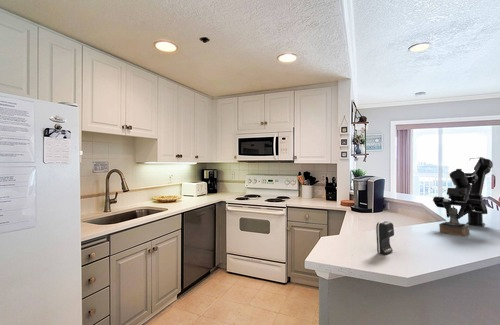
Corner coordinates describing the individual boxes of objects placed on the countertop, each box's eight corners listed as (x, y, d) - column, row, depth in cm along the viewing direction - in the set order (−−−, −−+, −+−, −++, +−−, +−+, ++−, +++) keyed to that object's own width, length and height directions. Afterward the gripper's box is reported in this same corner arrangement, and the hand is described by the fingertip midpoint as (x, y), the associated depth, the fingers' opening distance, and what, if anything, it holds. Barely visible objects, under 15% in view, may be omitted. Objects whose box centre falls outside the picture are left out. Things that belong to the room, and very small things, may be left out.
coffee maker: (387, 256, 87) (386, 224, 88) (376, 253, 90) (375, 222, 91) (396, 251, 91) (394, 221, 92) (385, 249, 95) (384, 219, 95)
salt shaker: (466, 232, 112) (465, 206, 112) (453, 233, 112) (452, 207, 112) (455, 229, 118) (454, 204, 118) (443, 229, 118) (442, 205, 118)
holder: (445, 229, 121) (445, 221, 121) (469, 232, 114) (468, 224, 114) (439, 232, 116) (439, 224, 116) (464, 236, 108) (464, 227, 108)
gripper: (433, 180, 125) (423, 204, 120) (481, 182, 109) (472, 209, 103) (441, 194, 129) (432, 218, 123) (489, 198, 113) (480, 225, 107)
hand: (452, 217), depth 114 cm, fingers closed on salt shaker, 4 cm apart
